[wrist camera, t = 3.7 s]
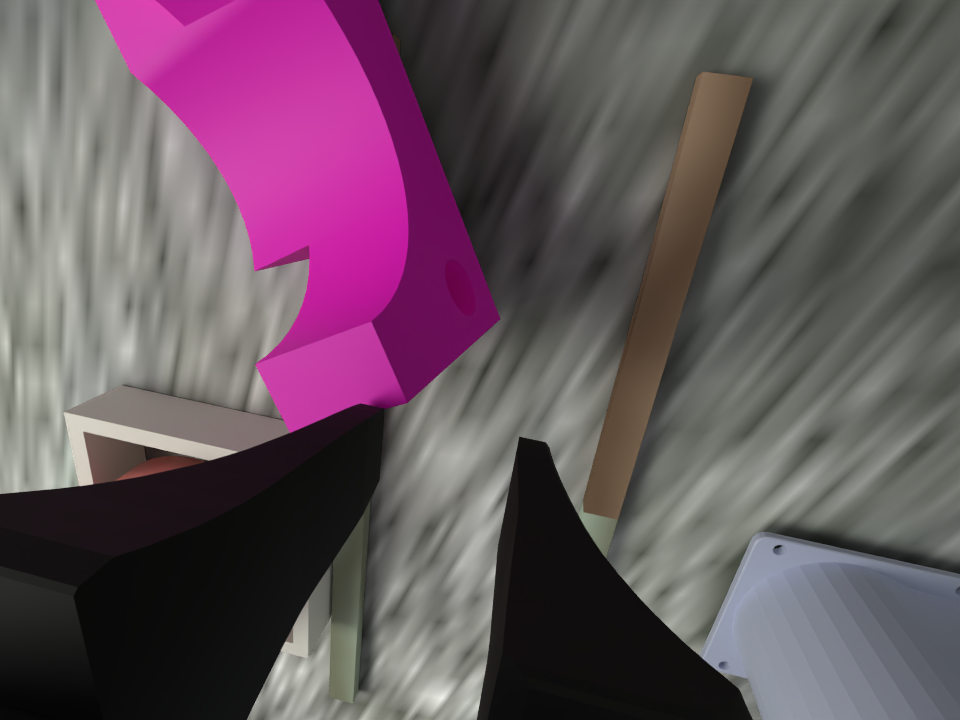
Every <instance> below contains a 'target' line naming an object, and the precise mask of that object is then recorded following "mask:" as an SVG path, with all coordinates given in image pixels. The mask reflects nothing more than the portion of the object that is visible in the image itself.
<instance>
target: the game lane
mask: <svg viewBox="0 0 960 720" xmlns="http://www.w3.org/2000/svg"><path fill="white" fill-rule="evenodd" d="M391 35H392V37H393V40H394V43H395V45H396V48H397V50H398V53H399V56H400V43H401V40H400V39H399V38H398V37H397V36H395V35H394V34H392V33H391ZM752 81H753V78H750V77H742V76H734V75H726V74H717V73H709V72H702V73H701V74H699V75H698V76H697V78H696V81H695V85H694V89H693V93H692V96H691V100H690V104H689V107H688V111H687V115H686V119H685V122H684V126H683V130H682V134H681V137H680V141H679V145H678V148H677V152H676V156H675V160H674V163H673V167H672V171H671V175H670V178H669V182H668V186H667V190H666V193H665V197H664V201H663V204H662V208H661V212H660V216H659V219H658V223H657V227H656V231H655V234H654V238H653V242H652V245H651V249H650V253H649V257H648V260H647V264H646V268H645V272H644V275H643V279H642V283H641V286H640V290H639V294H638V298H637V301H636V305H635V309H634V313H633V316H632V320H631V324H630V328H629V331H628V335H627V339H626V342H625V346H624V350H623V354H622V357H621V361H620V365H619V369H618V372H617V376H616V380H615V383H614V387H613V391H612V395H611V398H610V402H609V406H608V410H607V413H606V417H605V421H604V424H603V428H602V432H601V436H600V439H599V443H598V447H597V451H596V454H595V458H594V462H593V465H592V469H591V473H590V477H589V480H588V484H587V488H586V492H585V495H584V499H583V503H582V507H581V510H580V514H579V517H580V519H581V521H582V523H583V524H584V526H585V528H586V529H587V531H588V533H589V534H590V536H591V537H592V539H593V540H594V542H595V543H596V545H597V546H598V548H599V549H600V551H601V552H602V553H603V555H604V556H605V558H606V557H607V553H608V550H609V547H610V544H611V540H612V537H613V534H614V531H615V527H616V524H617V521H618V518H619V514H620V511H621V508H622V505H623V501H624V498H625V495H626V491H627V488H628V485H629V482H630V478H631V475H632V472H633V469H634V465H635V462H636V459H637V456H638V452H639V449H640V446H641V443H642V439H643V436H644V433H645V430H646V426H647V423H648V420H649V417H650V413H651V410H652V407H653V404H654V400H655V397H656V394H657V390H658V387H659V384H660V381H661V377H662V374H663V371H664V368H665V364H666V361H667V358H668V355H669V351H670V348H671V345H672V342H673V338H674V335H675V332H676V329H677V325H678V322H679V319H680V316H681V312H682V309H683V306H684V303H685V299H686V296H687V293H688V290H689V286H690V283H691V280H692V276H693V273H694V270H695V267H696V263H697V260H698V257H699V254H700V250H701V247H702V244H703V241H704V237H705V234H706V231H707V228H708V224H709V221H710V218H711V215H712V211H713V208H714V205H715V202H716V198H717V195H718V192H719V189H720V185H721V182H722V179H723V175H724V172H725V169H726V166H727V162H728V159H729V156H730V153H731V149H732V146H733V143H734V140H735V136H736V133H737V130H738V127H739V123H740V120H741V117H742V114H743V110H744V107H745V104H746V101H747V97H748V94H749V91H750V88H751V84H752ZM370 504H371V499H370V501H369V503H368V506H367V508H366V510H365V512H364V514H363V516H362V517H361V519H360V520H359V522H358V524H357V525H356V527H355V528H354V530H353V531H352V533H351V534H350V536H349V538H348V539H347V541H346V542H345V544H344V545H343V547H342V548H341V550H340V551H339V553H338V554H337V556H336V557H335V559H334V560H333V588H332V620H331V652H330V684H329V697H331V698H335V699H338V700H342V701H346V702H349V703H353V702H354V700H355V697H356V695H357V692H358V688H359V673H360V657H361V642H362V627H363V611H364V596H365V580H366V565H367V550H368V534H369V519H370Z"/></svg>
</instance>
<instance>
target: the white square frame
mask: <svg viewBox="0 0 960 720" xmlns="http://www.w3.org/2000/svg"><path fill="white" fill-rule="evenodd" d="M64 415H65V420H66V424H67V429H68V434H69V439H70V443H71V448H72V453H73V458H74V462H75V467H76V472H77V477H78V481H79V486H84V485H91V484H98V483H105V482H112V481H115V480H116V479H118V478H119V477H121V476H122V475H124V474H125V473H127V472H128V471H130V470H131V469H133V468H134V467H136V466H137V465H139V464H140V463H142V462H144V461H146V455H145V449H144V446H148V447H153V448H157V449H161V450H166V451H170V452H174V453H179V454H183V455H187V456H192V457H196V458H200V459H205V460H209V461H210V460H213V459H217V458H220V457H224V456H227V455H230V454H234V453H237V452H240V451H243V450H246V449H249V448H252V447H254V446H257V445H260V444H262V443H265V442H267V441H270V440H273V439H275V438H278V437H280V436H283V435H286V434H288V433H290V432H289V430H288V428H287V426H286V424H285V422H284V420H279V419H275V418H270V417H265V416H261V415H256V414H252V413H247V412H242V411H238V410H233V409H229V408H224V407H219V406H215V405H210V404H206V403H201V402H197V401H192V400H187V399H183V398H178V397H174V396H169V395H164V394H160V393H155V392H151V391H146V390H141V389H137V388H132V387H128V386H123V385H121V386H119V387H116V388H114V389H112V390H110V391H108V392H106V393H104V394H101V395H99V396H97V397H95V398H93V399H91V400H89V401H87V402H84V403H82V404H80V405H78V406H76V407H74V408H72V409H70V410H67V411H65V412H64ZM332 588H333V562H332V564H331V565H330V567H329V568H328V570H327V571H326V573H325V574H324V576H323V577H322V579H321V580H320V582H319V583H318V585H317V586H316V588H315V590H314V591H313V593H312V594H311V596H310V598H309V599H308V601H307V603H306V604H305V606H304V608H303V609H302V611H301V613H300V615H299V616H298V618H297V620H296V622H295V624H294V626H293V628H292V630H291V632H290V634H289V636H288V638H287V640H286V641H285V643H284V645H283V647H282V649H281V651H282V652H286V653H290V654H293V655H297V656H301V657H304V658H309V656H310V654H311V652H312V650H313V649H314V647H315V645H316V643H317V641H318V639H319V638H320V636H321V634H322V632H323V630H324V628H325V626H326V625H327V623H328V621H329V619H330V617H331V615H332Z"/></svg>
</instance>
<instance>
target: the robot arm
mask: <svg viewBox="0 0 960 720" xmlns="http://www.w3.org/2000/svg"><path fill="white" fill-rule="evenodd" d="M384 410H385V408H380V407H375V406H371V405H366V404H361V403H360V404H357V405H354V406H351V407H349V408H346V409H344V410H342V411H339V412H337V413H335V414H332V415H330V416H328V417H326V418H323V419H321V420H319V421H317V422H314V423H312V424H310V425H307V426H305V427H303V428H300V429H298V430H296V431H293V432H291V433H288V434H286V435H283V436H280V437H278V438H275V439H273V440H270V441H267V442H265V443H262V444H260V445H257V446H254V447H252V448H249V449H246V450H243V451H240V452H237V453H234V454H230V455H227V456H224V457H220V458H217V459H213V460H210V461H206V462H203V463H199V464H195V465H191V466H186V467H182V468H177V469H173V470H168V471H164V472H159V473H155V474H150V475H146V476H141V477H135V478H129V479H124V480H118V481H112V482H105V483H98V484H91V485H84V486H77V487H69V488H61V489H51V490H40V491H29V492H18V493H7V494H0V720H247V718H248V716H249V714H250V712H251V709H252V707H253V705H254V703H255V701H256V699H257V697H258V695H259V693H260V691H261V689H262V687H263V685H264V683H265V681H266V679H267V677H268V675H269V673H270V671H271V669H272V667H273V665H274V663H275V661H276V659H277V657H278V655H279V653H280V651H281V649H282V647H283V645H284V643H285V641H286V640H287V638H288V636H289V634H290V632H291V630H292V628H293V626H294V624H295V622H296V620H297V618H298V616H299V615H300V613H301V611H302V609H303V608H304V606H305V604H306V603H307V601H308V599H309V598H310V596H311V594H312V593H313V591H314V590H315V588H316V586H317V585H318V583H319V582H320V580H321V579H322V577H323V576H324V574H325V573H326V571H327V570H328V568H329V567H330V565H331V564H332V562H333V560H334V559H335V557H336V556H337V554H338V553H339V551H340V550H341V548H342V547H343V545H344V544H345V542H346V541H347V539H348V538H349V536H350V534H351V533H352V531H353V530H354V528H355V527H356V525H357V524H358V522H359V520H360V519H361V517H362V516H363V514H364V512H365V510H366V508H367V506H368V503H369V501H370V499H371V497H372V495H373V493H374V491H375V488H376V486H377V484H378V482H379V479H380V465H381V451H382V437H383V423H384ZM777 545H782V546H781V547H779V548H774V547H775V546H777ZM722 661H724V662H722ZM718 671H720V672H724V673H728V674H732V675H736V676H739V677H743V678H747V679H748V680H749V683H750V686H751V689H752V691H753V694H754V697H755V700H756V703H757V705H758V708H759V711H760V714H761V717H762V720H960V574H957V573H953V572H948V571H944V570H939V569H935V568H930V567H926V566H921V565H916V564H912V563H907V562H903V561H898V560H894V559H889V558H884V557H880V556H875V555H871V554H866V553H862V552H857V551H853V550H848V549H843V548H839V547H834V546H830V545H825V544H821V543H816V542H811V541H807V540H802V539H798V538H793V537H789V536H784V535H780V534H775V533H770V532H760V533H757V534H756V535H754V536H753V538H752V539H751V541H750V544H749V546H748V548H747V550H746V553H745V555H744V557H743V559H742V562H741V564H740V566H739V568H738V571H737V573H736V575H735V577H734V579H733V582H732V584H731V586H730V588H729V591H728V593H727V595H726V597H725V600H724V602H723V604H722V606H721V609H720V611H719V613H718V615H717V618H716V620H715V622H714V624H713V627H712V629H711V631H710V633H709V636H708V638H707V640H706V642H705V645H704V647H703V649H702V651H701V654H700V656H699V655H698V654H697V653H696V652H694V651H693V650H692V649H691V648H690V647H689V646H687V645H686V644H685V643H684V642H683V641H682V640H681V639H680V638H679V637H678V636H677V635H676V634H674V633H673V632H672V631H671V630H670V629H669V628H668V627H667V626H666V625H665V624H664V623H663V622H662V621H661V620H660V619H659V618H658V617H657V616H656V615H655V614H654V613H653V612H652V611H651V610H650V609H649V608H648V607H647V606H646V605H645V604H644V603H643V602H642V600H641V599H640V598H639V597H638V596H637V595H636V594H635V593H634V592H633V590H632V589H631V588H630V587H629V586H628V585H627V583H626V582H625V581H624V580H623V579H622V578H621V577H620V575H619V574H618V573H617V572H616V571H615V569H614V568H613V567H612V566H611V564H610V563H609V562H608V561H607V559H606V558H605V556H604V555H603V553H602V552H601V551H600V549H599V548H598V546H597V545H596V543H595V542H594V540H593V539H592V537H591V536H590V534H589V533H588V531H587V529H586V528H585V526H584V524H583V523H582V521H581V519H580V517H579V516H578V514H577V512H576V510H575V508H574V506H573V505H572V503H571V501H570V499H569V497H568V494H567V492H566V490H565V488H564V486H563V484H562V482H561V479H560V477H559V475H558V472H557V470H556V467H555V465H554V462H553V459H552V456H551V452H550V448H549V447H548V445H547V444H546V442H542V441H537V440H532V439H527V438H523V437H519V442H518V447H517V452H516V457H515V462H514V467H513V472H512V477H511V482H510V488H509V493H508V498H507V503H506V508H505V513H504V518H503V524H502V529H501V534H500V539H499V544H498V552H497V563H496V575H495V586H494V598H493V610H492V622H491V633H490V643H489V651H488V659H487V666H486V671H485V677H484V683H483V688H482V694H481V700H480V705H479V711H478V717H477V720H753V719H752V717H751V715H750V713H749V711H748V708H747V706H746V704H745V702H744V699H743V697H742V694H741V692H740V690H739V689H738V688H737V687H736V686H735V685H733V684H732V683H731V682H730V681H729V680H727V679H726V678H725V677H724V676H723V675H722V674H720V673H719V672H718Z"/></svg>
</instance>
